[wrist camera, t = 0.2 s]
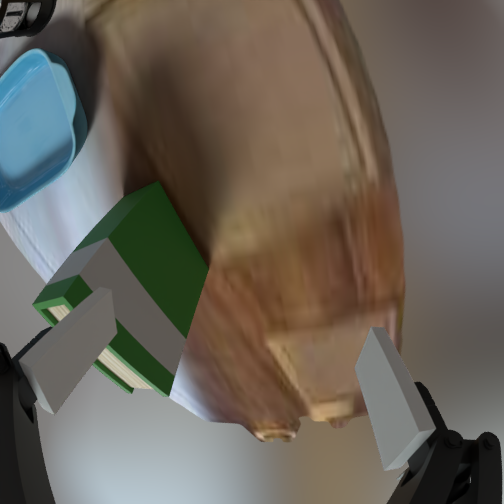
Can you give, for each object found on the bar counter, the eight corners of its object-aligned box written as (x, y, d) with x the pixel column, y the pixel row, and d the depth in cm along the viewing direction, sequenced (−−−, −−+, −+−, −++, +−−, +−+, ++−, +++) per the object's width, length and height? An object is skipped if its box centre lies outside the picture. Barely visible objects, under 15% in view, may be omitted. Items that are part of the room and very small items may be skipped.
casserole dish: (80, 22, 23) (48, 21, 17) (123, 140, 35) (97, 156, 30) (-20, 128, 32) (-42, 140, 27) (14, 207, 45) (-5, 224, 39)
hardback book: (208, 269, 48) (169, 396, 29) (174, 277, 50) (127, 393, 31) (158, 180, 39) (63, 296, 20) (123, 197, 41) (32, 304, 22)
